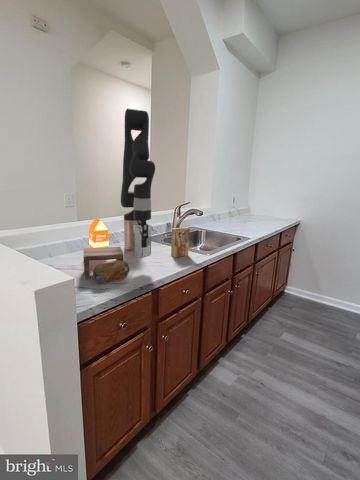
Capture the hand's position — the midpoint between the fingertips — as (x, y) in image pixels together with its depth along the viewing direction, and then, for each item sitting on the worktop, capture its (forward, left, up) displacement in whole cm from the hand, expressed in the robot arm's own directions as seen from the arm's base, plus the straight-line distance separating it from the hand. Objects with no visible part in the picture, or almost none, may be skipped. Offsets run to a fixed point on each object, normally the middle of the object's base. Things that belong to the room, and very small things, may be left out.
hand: (142, 244), depth 123 cm
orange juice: (-28, -18, -13) cm, 35 cm away
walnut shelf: (-2, -17, -13) cm, 21 cm away
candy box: (-19, +24, -13) cm, 33 cm away
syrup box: (0, 0, -5) cm, 5 cm away
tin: (+8, -14, -13) cm, 21 cm away
